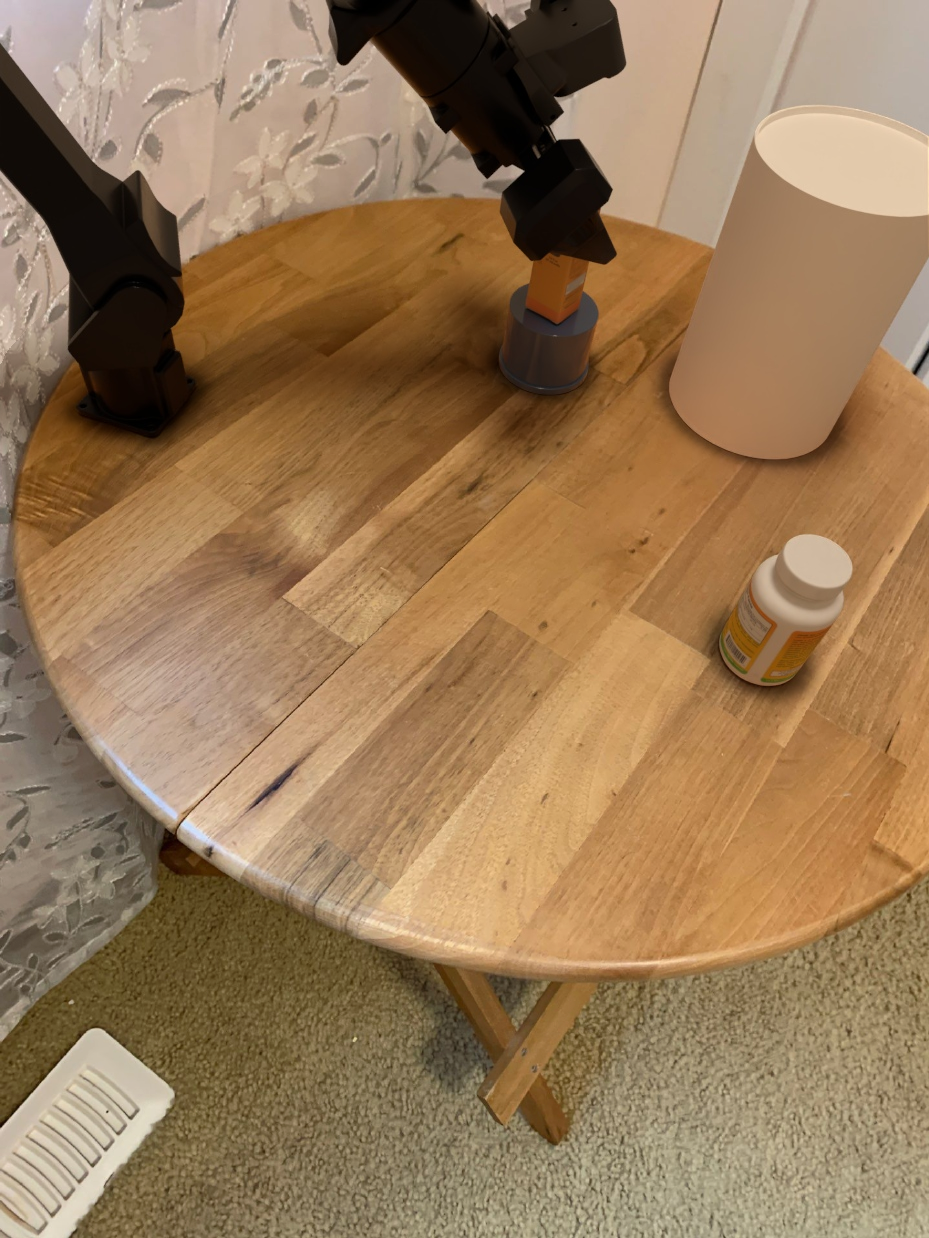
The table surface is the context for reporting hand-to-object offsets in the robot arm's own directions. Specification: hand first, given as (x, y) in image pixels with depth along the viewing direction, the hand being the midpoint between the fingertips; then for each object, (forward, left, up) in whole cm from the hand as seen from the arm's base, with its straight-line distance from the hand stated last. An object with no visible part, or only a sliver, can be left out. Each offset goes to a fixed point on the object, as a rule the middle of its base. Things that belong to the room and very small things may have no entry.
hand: (590, 221), depth 63 cm
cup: (-1, -1, -13) cm, 13 cm away
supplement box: (-1, -1, -7) cm, 7 cm away
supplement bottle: (+20, -23, -13) cm, 33 cm away
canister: (+16, +2, -13) cm, 20 cm away
